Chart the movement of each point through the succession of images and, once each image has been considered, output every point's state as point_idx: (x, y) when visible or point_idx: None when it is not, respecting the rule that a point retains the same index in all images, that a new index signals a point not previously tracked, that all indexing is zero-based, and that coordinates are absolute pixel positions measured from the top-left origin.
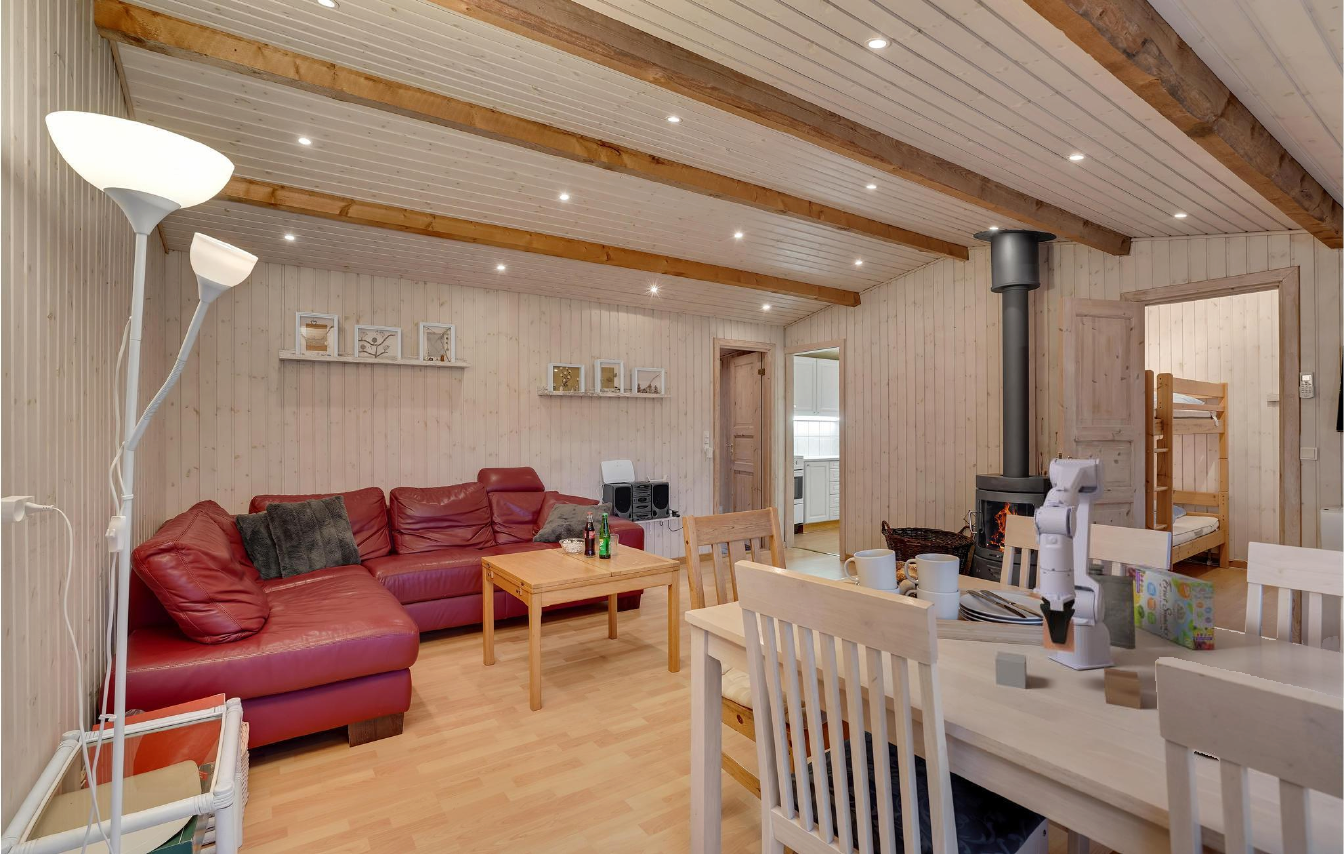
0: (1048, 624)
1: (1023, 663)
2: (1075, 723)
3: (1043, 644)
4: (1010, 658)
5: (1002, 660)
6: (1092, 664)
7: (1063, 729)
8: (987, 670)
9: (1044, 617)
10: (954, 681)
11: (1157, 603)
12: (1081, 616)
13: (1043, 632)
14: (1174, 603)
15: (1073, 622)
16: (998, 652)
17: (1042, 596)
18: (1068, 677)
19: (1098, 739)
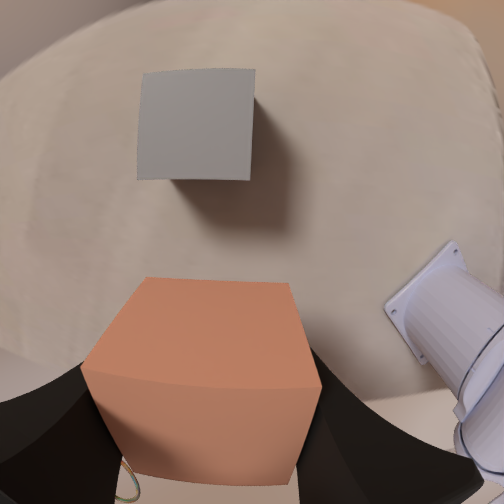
0: (51, 384)
1: (138, 176)
2: (41, 282)
3: (141, 284)
4: (176, 122)
5: (141, 98)
6: (408, 336)
7: (13, 261)
8: (283, 65)
9: (245, 393)
10: (143, 11)
11: None
12: (482, 400)
13: (115, 322)
14: None
15: (203, 483)
16: (238, 71)
17: (475, 486)
18: (325, 286)
19: (18, 307)
